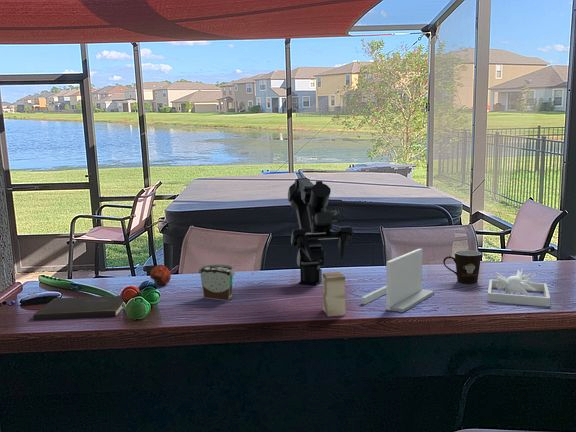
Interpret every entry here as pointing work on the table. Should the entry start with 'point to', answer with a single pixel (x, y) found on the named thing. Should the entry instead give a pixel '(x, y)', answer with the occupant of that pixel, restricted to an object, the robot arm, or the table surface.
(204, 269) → the food container
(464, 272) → the coffee mug
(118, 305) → the hardcover book
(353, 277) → the table surface
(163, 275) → the pomegranate
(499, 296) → the white flat square tray
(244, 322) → the table surface
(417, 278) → the board
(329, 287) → the beige upright block
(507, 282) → the spiky ball
